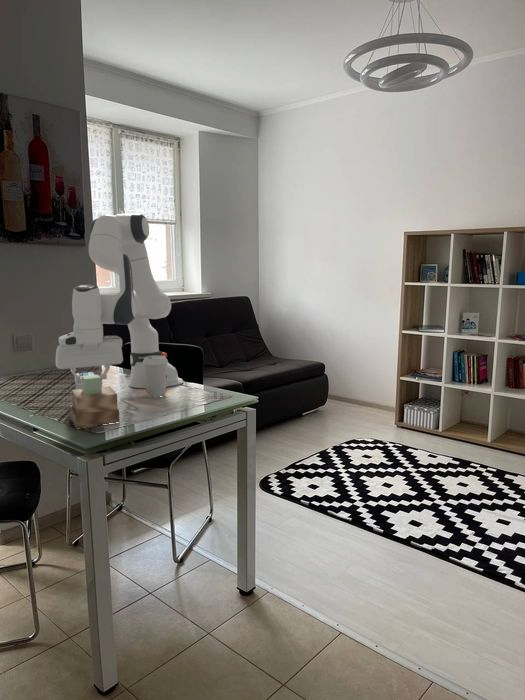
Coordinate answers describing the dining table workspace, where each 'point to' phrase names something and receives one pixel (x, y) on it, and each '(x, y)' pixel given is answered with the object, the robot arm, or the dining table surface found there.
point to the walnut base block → (93, 418)
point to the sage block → (91, 384)
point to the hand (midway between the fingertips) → (91, 380)
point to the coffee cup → (155, 375)
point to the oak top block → (95, 401)
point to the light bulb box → (79, 384)
